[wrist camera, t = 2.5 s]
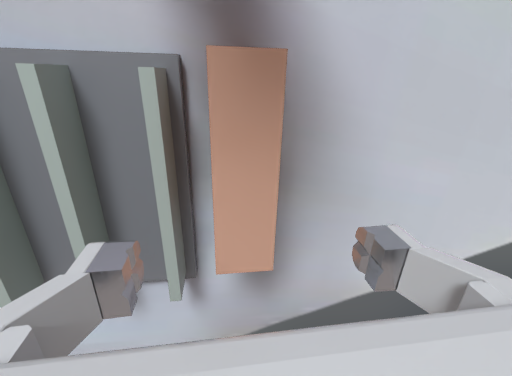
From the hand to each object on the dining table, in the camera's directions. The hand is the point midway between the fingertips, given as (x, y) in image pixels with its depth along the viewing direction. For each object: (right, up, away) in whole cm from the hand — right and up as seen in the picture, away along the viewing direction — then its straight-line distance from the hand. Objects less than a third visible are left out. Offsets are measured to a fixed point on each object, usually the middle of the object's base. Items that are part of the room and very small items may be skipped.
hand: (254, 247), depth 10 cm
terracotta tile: (-2, +7, +15) cm, 16 cm away
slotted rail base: (-15, +3, +15) cm, 21 cm away
